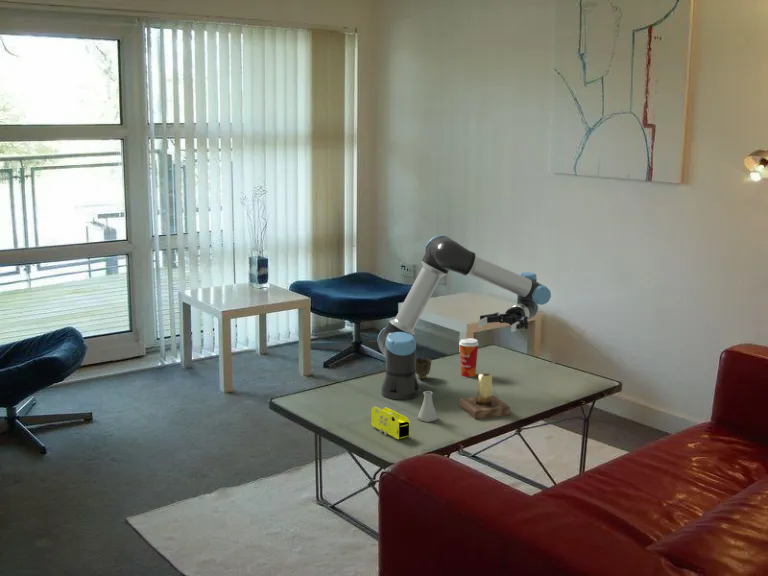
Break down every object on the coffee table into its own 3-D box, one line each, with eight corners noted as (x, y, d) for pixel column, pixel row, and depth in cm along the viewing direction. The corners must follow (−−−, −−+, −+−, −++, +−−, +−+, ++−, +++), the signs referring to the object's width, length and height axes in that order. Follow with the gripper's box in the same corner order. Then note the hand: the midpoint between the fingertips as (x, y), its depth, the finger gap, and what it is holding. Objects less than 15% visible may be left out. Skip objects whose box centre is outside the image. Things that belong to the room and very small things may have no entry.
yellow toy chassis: (370, 427, 298) (370, 405, 296) (383, 424, 301) (383, 402, 299) (397, 442, 285) (397, 418, 283) (410, 438, 288) (410, 415, 287)
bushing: (481, 413, 311) (482, 377, 308) (475, 409, 316) (476, 373, 313) (493, 412, 313) (494, 375, 310) (487, 407, 317) (488, 371, 314)
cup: (432, 376, 354) (433, 358, 352) (429, 381, 347) (429, 363, 346) (415, 374, 356) (415, 356, 354) (411, 380, 349) (411, 361, 347)
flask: (413, 418, 306) (413, 392, 304) (427, 413, 311) (427, 387, 309) (427, 423, 301) (428, 397, 299) (441, 419, 306) (442, 392, 304)
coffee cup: (454, 373, 358) (455, 339, 355) (471, 370, 361) (472, 337, 358) (464, 379, 351) (465, 344, 348) (481, 376, 354) (482, 342, 351)
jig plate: (475, 419, 306) (475, 411, 305) (459, 406, 319) (459, 398, 318) (509, 414, 310) (510, 407, 309) (493, 402, 323) (493, 394, 322)
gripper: (545, 328, 337) (525, 340, 319) (488, 320, 350) (465, 331, 332) (546, 309, 335) (526, 321, 318) (488, 302, 348) (466, 312, 330)
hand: (495, 326), depth 325 cm, fingers open, 13 cm apart
